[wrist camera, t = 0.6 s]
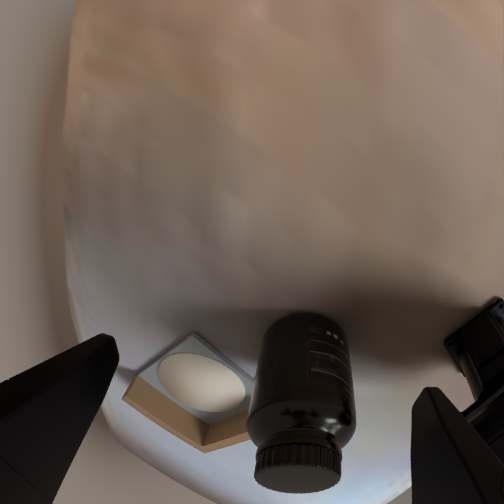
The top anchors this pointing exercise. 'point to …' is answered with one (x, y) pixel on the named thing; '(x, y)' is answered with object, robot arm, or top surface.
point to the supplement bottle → (301, 404)
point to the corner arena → (194, 395)
